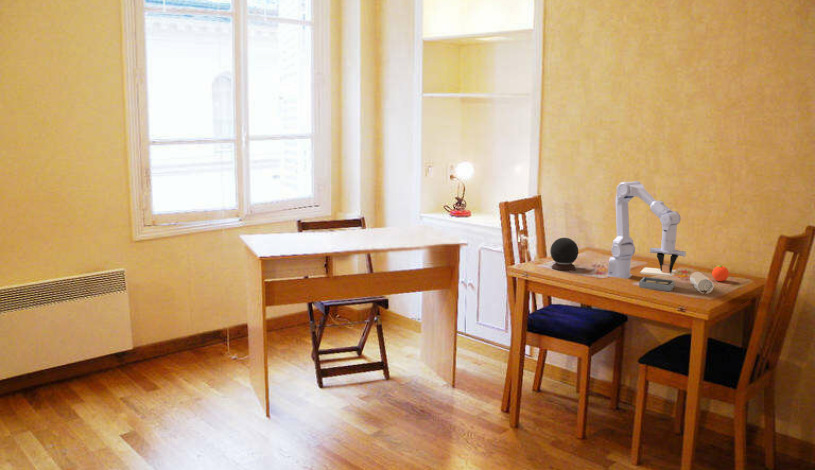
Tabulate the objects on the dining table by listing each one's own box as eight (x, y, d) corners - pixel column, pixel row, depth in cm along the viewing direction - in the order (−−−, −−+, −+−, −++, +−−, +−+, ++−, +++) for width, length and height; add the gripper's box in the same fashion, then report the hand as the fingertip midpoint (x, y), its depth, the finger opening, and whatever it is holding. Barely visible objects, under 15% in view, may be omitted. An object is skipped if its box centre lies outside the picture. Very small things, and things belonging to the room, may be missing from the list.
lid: (640, 273, 325) (640, 264, 324) (644, 269, 333) (645, 260, 333) (671, 276, 319) (671, 267, 318) (675, 271, 327) (675, 262, 326)
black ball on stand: (575, 272, 353) (576, 241, 350) (547, 270, 358) (548, 239, 355) (579, 266, 365) (581, 236, 362) (552, 264, 370) (553, 234, 367)
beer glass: (706, 284, 332) (715, 292, 317) (689, 287, 333) (698, 295, 318) (703, 269, 331) (712, 276, 316) (687, 272, 332) (695, 279, 317)
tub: (638, 288, 326) (639, 281, 326) (643, 283, 335) (644, 276, 334) (670, 292, 320) (670, 285, 320) (674, 287, 329) (674, 280, 328)
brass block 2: (658, 287, 326) (658, 283, 325) (657, 286, 327) (657, 282, 327) (667, 288, 325) (668, 283, 325) (667, 287, 327) (667, 282, 326)
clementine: (706, 279, 343) (707, 264, 341) (717, 278, 345) (719, 262, 344) (719, 283, 335) (721, 268, 334) (731, 282, 338) (733, 266, 337)
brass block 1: (645, 285, 329) (645, 281, 328) (646, 284, 330) (646, 280, 330) (655, 287, 327) (655, 282, 326) (656, 286, 328) (656, 281, 328)
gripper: (649, 239, 322) (647, 270, 324) (684, 243, 315) (682, 275, 317) (652, 236, 328) (650, 267, 330) (687, 240, 321) (685, 271, 324)
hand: (666, 270), depth 324 cm, fingers closed on lid, 3 cm apart
